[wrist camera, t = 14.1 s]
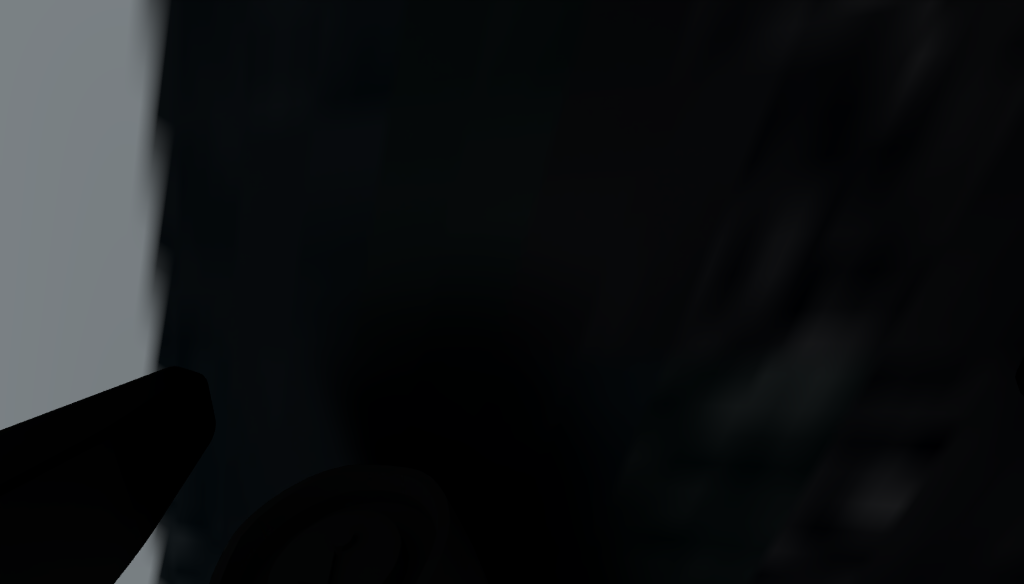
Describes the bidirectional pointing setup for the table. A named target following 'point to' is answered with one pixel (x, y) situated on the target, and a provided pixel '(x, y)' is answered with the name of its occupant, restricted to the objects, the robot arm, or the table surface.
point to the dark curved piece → (353, 533)
